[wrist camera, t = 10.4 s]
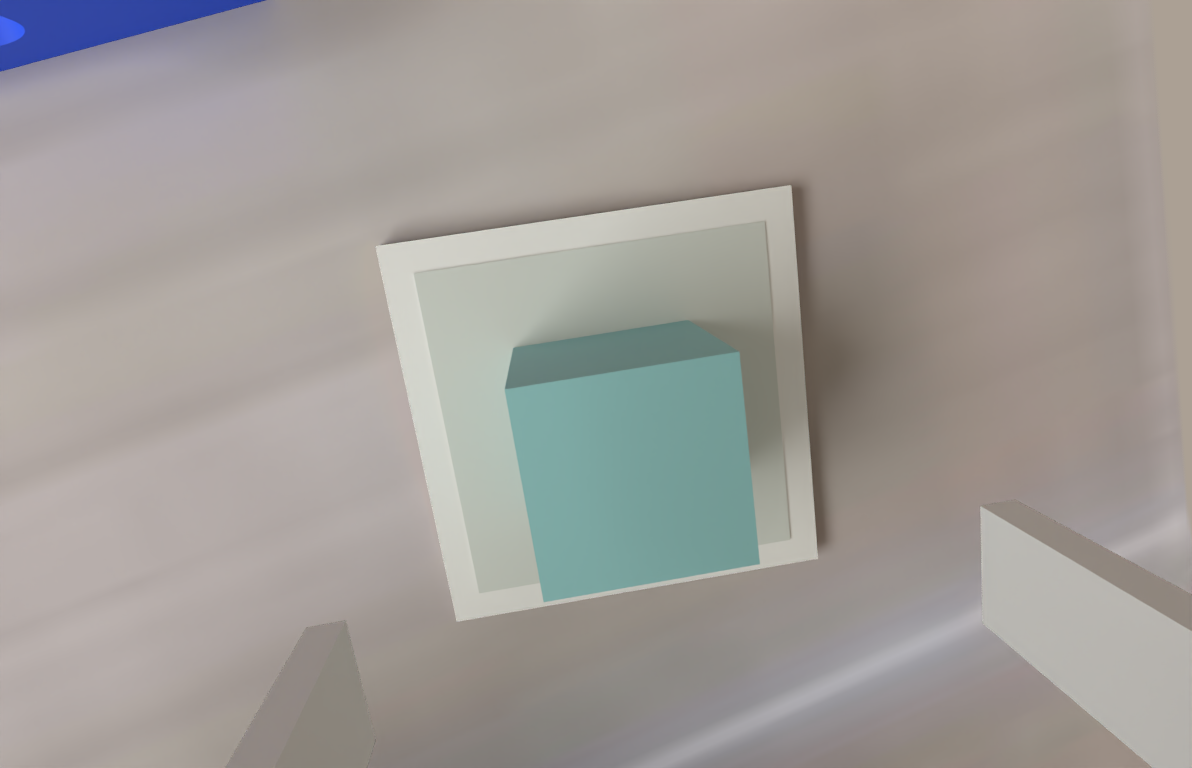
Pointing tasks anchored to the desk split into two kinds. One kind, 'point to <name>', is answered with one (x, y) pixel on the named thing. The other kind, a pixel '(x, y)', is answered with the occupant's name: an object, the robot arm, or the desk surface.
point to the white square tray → (582, 308)
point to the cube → (632, 457)
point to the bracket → (88, 23)
